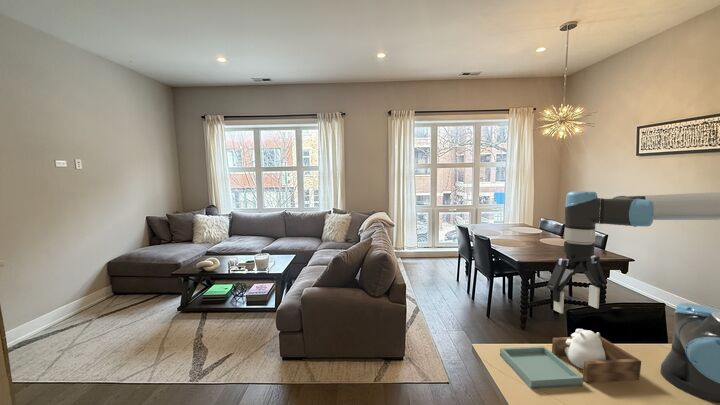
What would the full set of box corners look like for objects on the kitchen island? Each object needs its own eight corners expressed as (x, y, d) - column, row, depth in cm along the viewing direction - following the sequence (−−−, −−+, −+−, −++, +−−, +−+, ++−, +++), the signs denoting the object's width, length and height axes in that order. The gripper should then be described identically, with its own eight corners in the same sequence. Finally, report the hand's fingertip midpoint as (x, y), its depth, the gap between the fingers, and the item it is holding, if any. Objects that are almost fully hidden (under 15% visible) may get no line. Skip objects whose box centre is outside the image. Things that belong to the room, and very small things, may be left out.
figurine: (613, 380, 86) (616, 341, 85) (576, 375, 88) (579, 337, 87) (593, 359, 96) (596, 324, 95) (560, 355, 98) (563, 321, 97)
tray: (543, 353, 99) (544, 346, 99) (582, 385, 84) (582, 377, 84) (499, 355, 98) (500, 348, 98) (530, 389, 82) (531, 380, 82)
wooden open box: (598, 352, 100) (599, 335, 99) (639, 380, 86) (641, 361, 86) (551, 354, 98) (552, 337, 98) (586, 383, 85) (587, 363, 84)
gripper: (598, 237, 96) (595, 300, 97) (534, 241, 90) (532, 308, 92) (623, 241, 89) (620, 309, 90) (556, 247, 83) (553, 319, 84)
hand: (576, 309), depth 91 cm, fingers open, 13 cm apart
